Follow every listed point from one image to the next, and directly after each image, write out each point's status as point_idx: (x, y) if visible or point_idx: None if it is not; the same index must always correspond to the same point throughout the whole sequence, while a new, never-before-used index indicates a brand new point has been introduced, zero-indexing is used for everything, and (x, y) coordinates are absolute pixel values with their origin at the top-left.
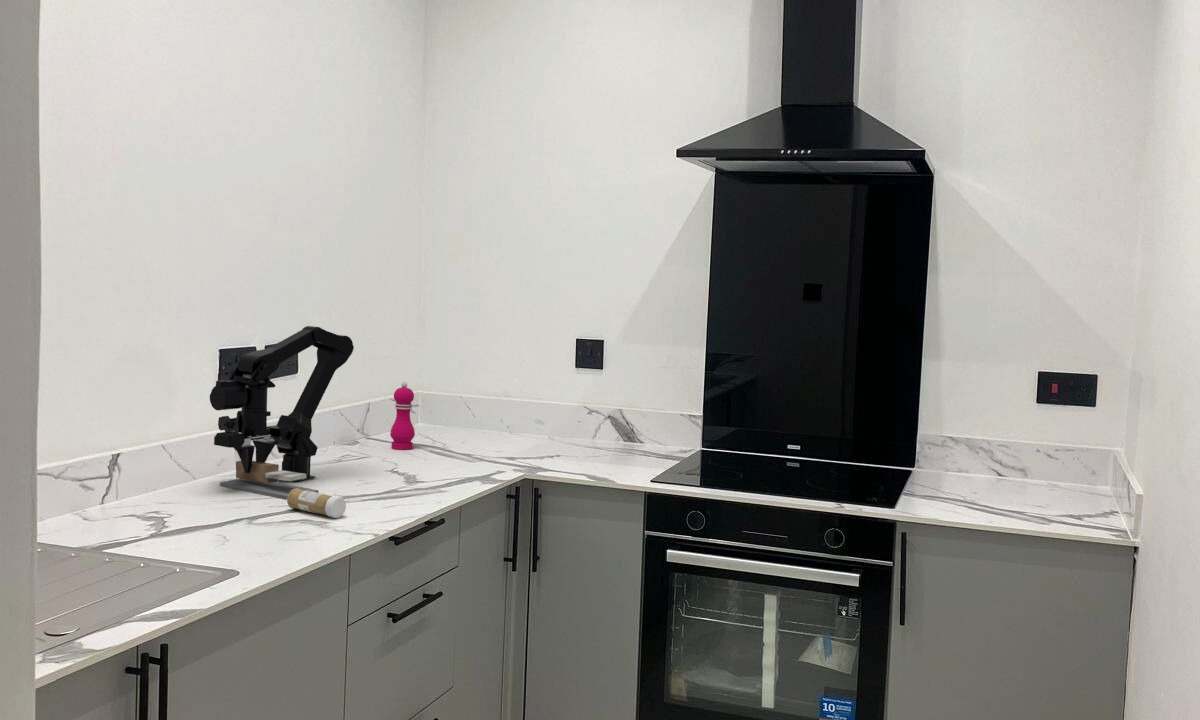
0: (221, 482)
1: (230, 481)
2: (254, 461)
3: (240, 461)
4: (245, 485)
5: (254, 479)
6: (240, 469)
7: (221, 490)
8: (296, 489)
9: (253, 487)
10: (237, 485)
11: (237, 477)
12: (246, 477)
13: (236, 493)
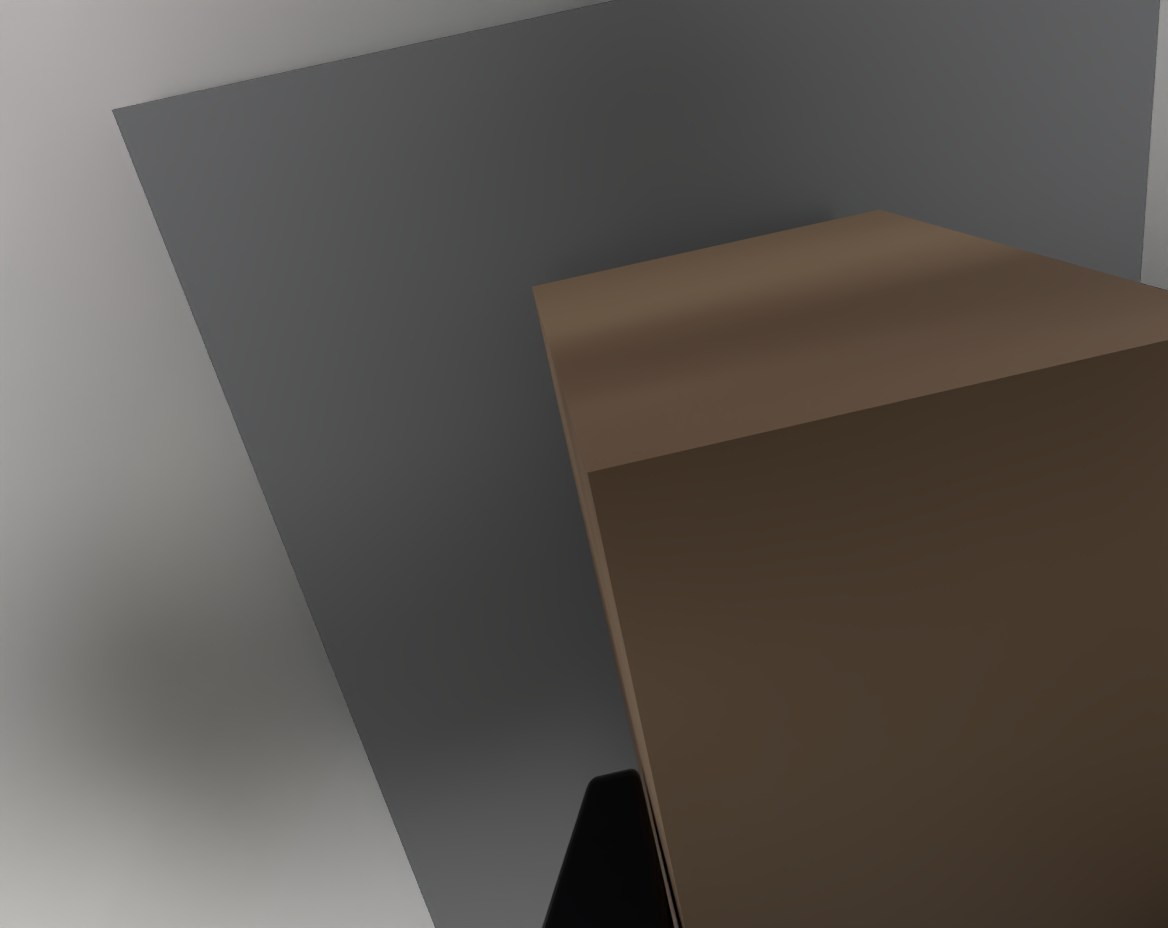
0: (147, 165)
1: (415, 180)
2: (1138, 891)
3: (752, 599)
4: (493, 721)
5: (661, 866)
6: (601, 575)
7: (27, 572)
8: None
9: (529, 898)
10: (358, 651)
11: (547, 353)
12: (618, 673)
13: (202, 876)
